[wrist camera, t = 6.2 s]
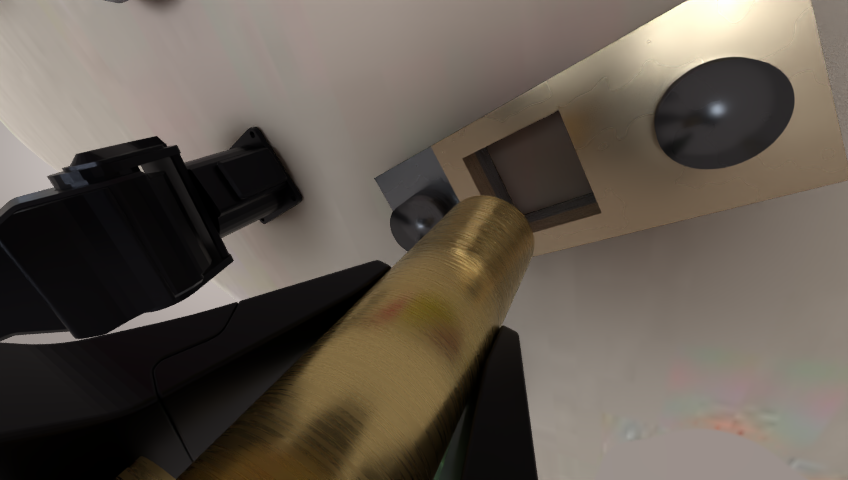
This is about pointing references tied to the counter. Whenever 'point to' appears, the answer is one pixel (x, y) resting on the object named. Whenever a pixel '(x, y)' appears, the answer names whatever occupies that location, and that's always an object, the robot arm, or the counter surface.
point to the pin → (384, 365)
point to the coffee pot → (117, 1)
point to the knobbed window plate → (656, 127)
